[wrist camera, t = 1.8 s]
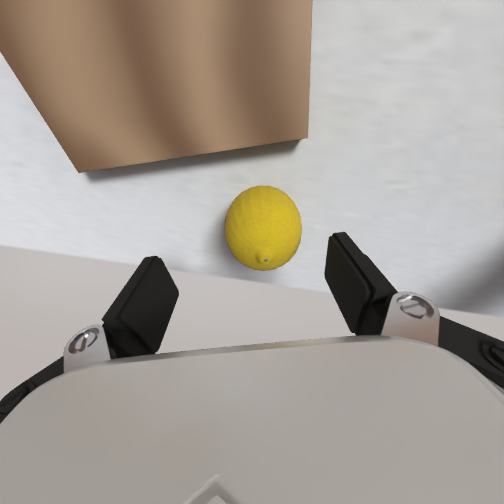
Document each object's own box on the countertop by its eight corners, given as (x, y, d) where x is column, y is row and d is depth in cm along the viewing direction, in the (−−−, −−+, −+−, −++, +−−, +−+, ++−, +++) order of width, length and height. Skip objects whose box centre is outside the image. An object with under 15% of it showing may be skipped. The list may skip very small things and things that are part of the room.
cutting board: (314, -392, 6) (330, -523, 5) (303, 135, 14) (307, 137, 13) (-138, -219, 7) (-216, -284, 6) (92, 168, 16) (78, 173, 14)
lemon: (246, 238, 20) (242, 301, 13) (219, 189, 17) (198, 239, 10) (298, 219, 18) (323, 278, 12) (280, 161, 15) (300, 198, 9)
